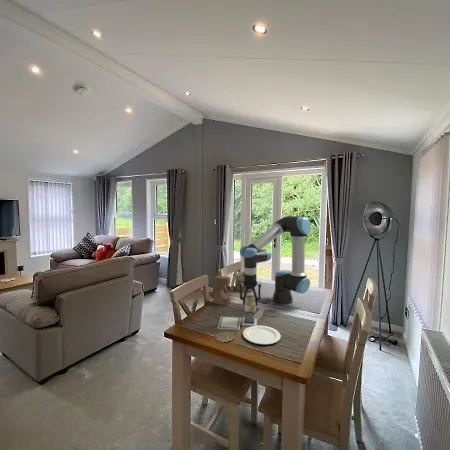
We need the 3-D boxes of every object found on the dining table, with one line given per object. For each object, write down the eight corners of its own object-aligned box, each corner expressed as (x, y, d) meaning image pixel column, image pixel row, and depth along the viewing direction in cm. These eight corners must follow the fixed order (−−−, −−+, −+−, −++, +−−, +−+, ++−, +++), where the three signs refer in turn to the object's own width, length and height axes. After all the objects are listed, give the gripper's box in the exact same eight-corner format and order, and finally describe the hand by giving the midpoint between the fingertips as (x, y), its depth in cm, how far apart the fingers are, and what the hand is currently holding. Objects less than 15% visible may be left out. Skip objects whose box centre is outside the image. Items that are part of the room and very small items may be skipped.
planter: (248, 294, 214) (248, 277, 212) (231, 290, 222) (231, 274, 221) (256, 289, 227) (257, 273, 226) (240, 285, 235) (241, 270, 234)
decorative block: (230, 303, 193) (230, 277, 191) (226, 306, 188) (227, 279, 186) (217, 301, 198) (217, 275, 196) (213, 303, 193) (213, 276, 191)
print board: (241, 318, 168) (241, 316, 168) (239, 330, 152) (239, 328, 152) (220, 317, 170) (220, 315, 170) (217, 328, 154) (217, 327, 154)
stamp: (254, 310, 164) (254, 294, 163) (254, 313, 159) (254, 297, 158) (246, 309, 164) (246, 294, 164) (245, 313, 160) (245, 297, 159)
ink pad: (256, 320, 166) (256, 316, 166) (256, 326, 157) (256, 323, 157) (242, 319, 167) (242, 315, 167) (241, 325, 158) (241, 322, 158)
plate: (254, 350, 132) (254, 347, 132) (236, 331, 151) (236, 329, 151) (288, 342, 141) (288, 339, 140) (267, 325, 160) (267, 322, 159)
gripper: (265, 272, 162) (264, 308, 164) (235, 271, 164) (236, 307, 166) (265, 275, 155) (265, 313, 157) (234, 275, 157) (235, 312, 159)
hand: (250, 310), depth 162 cm, fingers closed on stamp, 5 cm apart
